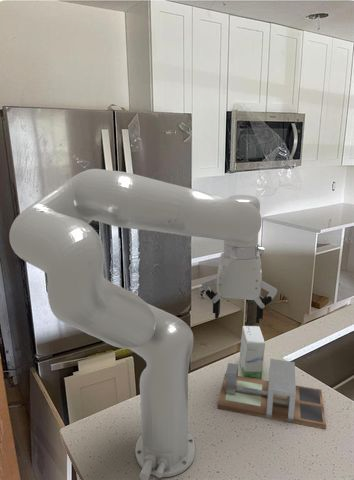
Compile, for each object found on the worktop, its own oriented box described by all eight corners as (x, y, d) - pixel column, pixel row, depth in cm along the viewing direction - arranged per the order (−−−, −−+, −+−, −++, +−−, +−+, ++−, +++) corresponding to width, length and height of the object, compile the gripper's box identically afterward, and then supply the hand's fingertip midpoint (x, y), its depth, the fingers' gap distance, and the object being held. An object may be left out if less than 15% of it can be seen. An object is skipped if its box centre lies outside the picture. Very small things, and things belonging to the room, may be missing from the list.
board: (325, 429, 83) (326, 424, 82) (217, 408, 89) (217, 404, 89) (320, 393, 94) (321, 389, 93) (224, 377, 100) (225, 373, 100)
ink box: (239, 361, 107) (240, 324, 104) (257, 361, 107) (259, 325, 104) (243, 380, 99) (245, 341, 96) (263, 380, 99) (265, 341, 95)
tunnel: (293, 422, 85) (295, 393, 82) (266, 417, 86) (268, 389, 84) (292, 388, 96) (294, 362, 93) (268, 384, 97) (270, 358, 95)
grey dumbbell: (292, 407, 87) (294, 386, 85) (224, 395, 91) (225, 375, 89) (291, 391, 92) (293, 370, 91) (228, 380, 97) (228, 360, 95)
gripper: (279, 248, 85) (274, 315, 89) (205, 243, 89) (204, 307, 94) (280, 258, 78) (274, 330, 83) (199, 252, 82) (198, 321, 87)
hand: (237, 318), depth 88 cm, fingers open, 9 cm apart
